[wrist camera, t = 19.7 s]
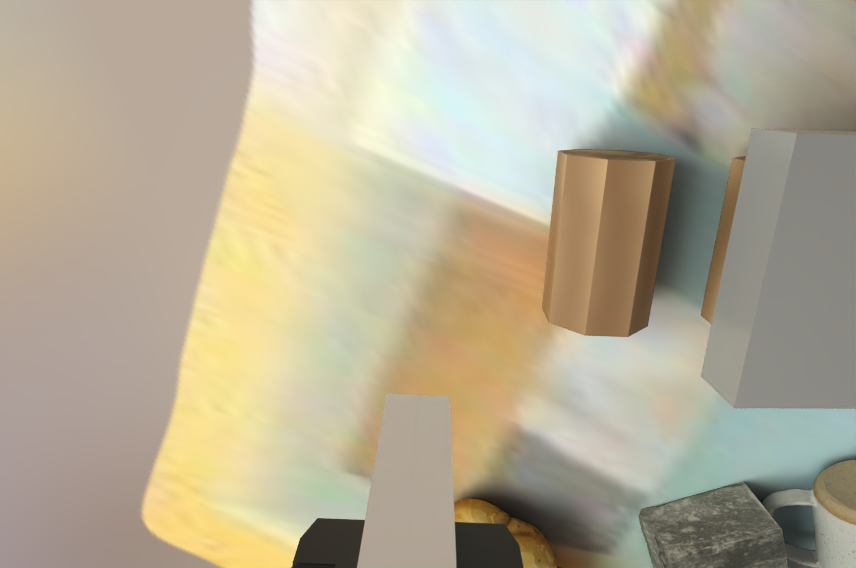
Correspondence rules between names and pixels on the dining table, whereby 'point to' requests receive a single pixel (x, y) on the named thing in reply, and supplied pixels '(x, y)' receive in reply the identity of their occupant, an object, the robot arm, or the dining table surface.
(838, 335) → the slab
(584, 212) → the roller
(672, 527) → the stone block
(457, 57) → the dining table surface
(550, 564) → the bread roll
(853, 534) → the ceramic mug
